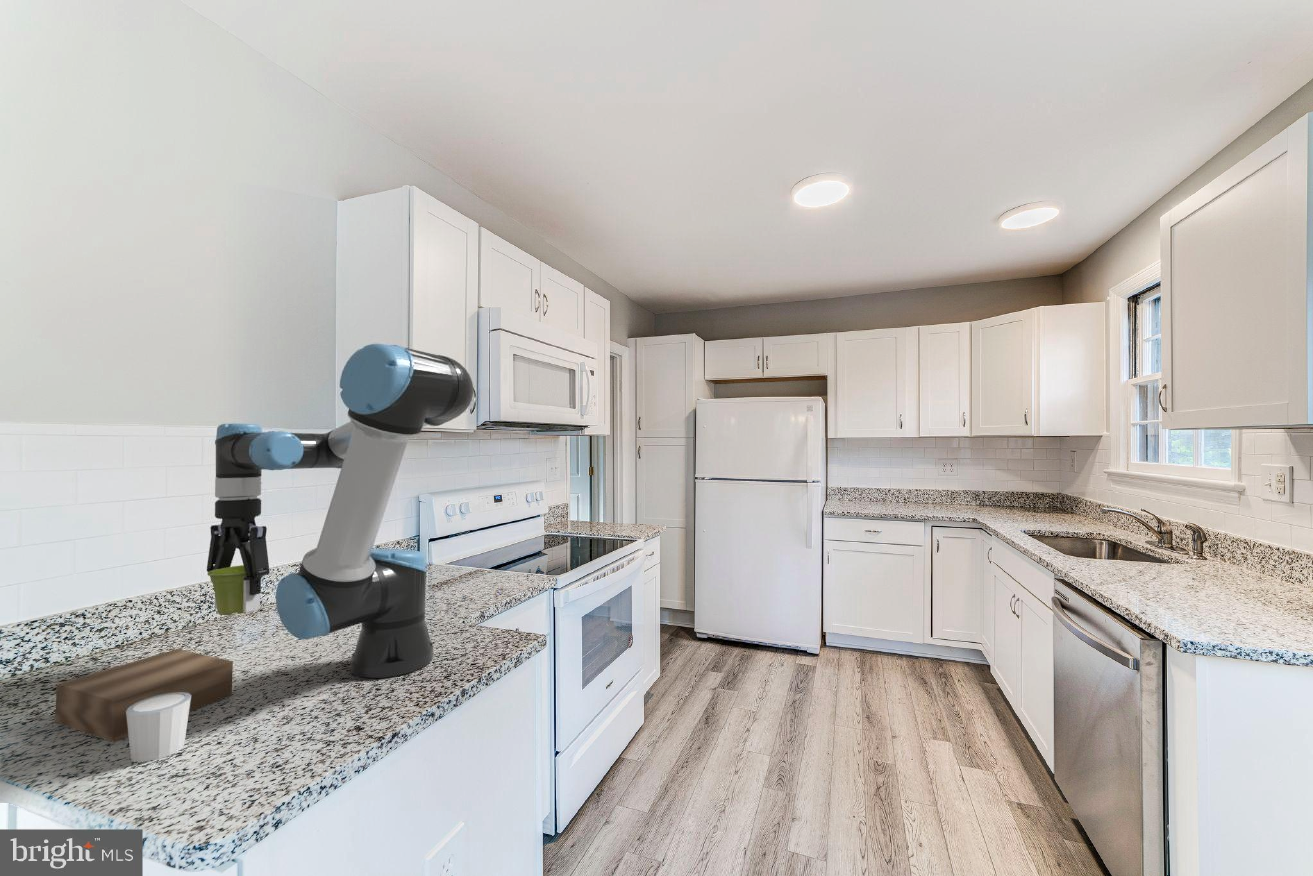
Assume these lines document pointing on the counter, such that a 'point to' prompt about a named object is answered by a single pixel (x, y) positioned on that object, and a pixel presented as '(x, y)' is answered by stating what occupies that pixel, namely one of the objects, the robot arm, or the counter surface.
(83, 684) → the walnut block
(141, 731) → the white tapered cup
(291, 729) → the counter surface
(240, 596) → the plant pot
